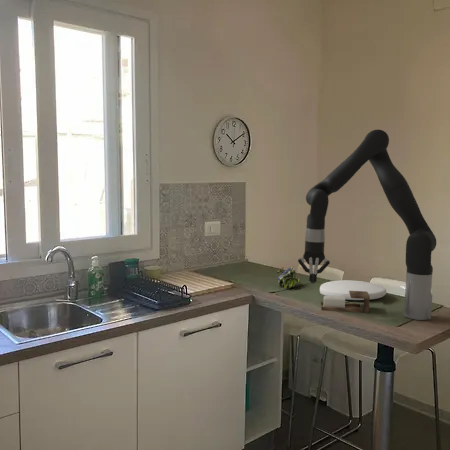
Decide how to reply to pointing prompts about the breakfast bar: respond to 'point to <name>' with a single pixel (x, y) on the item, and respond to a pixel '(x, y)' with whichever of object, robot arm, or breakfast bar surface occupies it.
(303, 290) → the breakfast bar surface
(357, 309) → the dock
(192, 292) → the breakfast bar surface
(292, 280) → the passion flower
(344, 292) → the plate
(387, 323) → the breakfast bar surface
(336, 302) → the white rectangular block
